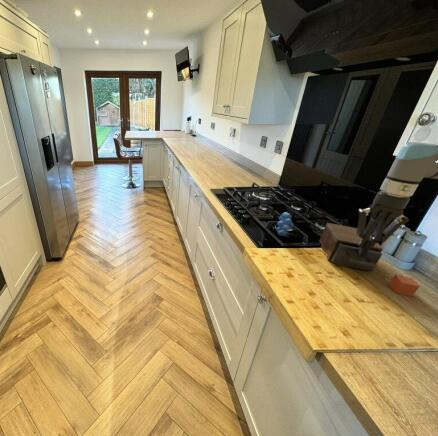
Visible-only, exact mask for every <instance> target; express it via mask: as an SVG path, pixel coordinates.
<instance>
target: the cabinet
mask: <svg viewBox="0 0 438 436" xmlns="http://www.w3.org/2000/svg"><path fill="white" fill-rule="evenodd" d="M356 232H357V227H352V226H347V225H341V224H336V223H330V222H326V224H325V226H324V229H323V231H322V233H321V236H320V238H319V240H318V243H319V242H320V243H321V246H320V248H321V250H322V249H323V250H324V252H325V254H326V256H325V258H326V257H327V258H326V260H327V259H328V260H330V261H329V262H331V260H332V257H333V255H334V253H335V251H336V249H337V247H338V245H339V243H340V242H341V243H346V244H351V245H355V246H358V243H359V241H360V239H361V238H360V237H359V236H358V235H357V234H356ZM371 236H372V235H371ZM371 236H370V239H371ZM320 243H319V244H320ZM373 249H375V250H376V251H378V252H381V253H382V252H383V250H384V248H383V247H382V245H380V244H379V243H376V244H375V245H374V247H373ZM323 250H322V251H323ZM324 252H323V253H324ZM325 254H324V255H325ZM328 260H327V261H328Z"/></svg>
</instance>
